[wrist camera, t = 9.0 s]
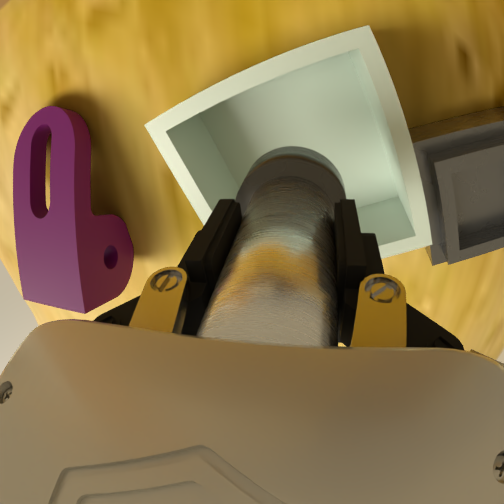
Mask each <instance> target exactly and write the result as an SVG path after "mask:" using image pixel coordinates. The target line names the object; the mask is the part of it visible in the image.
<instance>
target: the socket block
mask: <svg viewBox="0 0 504 504" xmlns="http://www.w3.org/2000/svg"><path fill="white" fill-rule="evenodd" d="M408 130H409V134H410V137H411V141H412V144H413V148H414V152H415V156H416V160H417V164H418V168H419V173H420V177H421V182H422V186H423V191H424V196H425V201H426V207H427V212H428V218H429V224H430V231H431V238H432V245H429V246H426V247H425V249H426V251H427V253H428V256H429V258H430V261H431V263H432V266H433V265H436V264H440V263H443V262H447V263H448V265H449V264H452V263H456V262H459V261H462V260H466V259H469V258H472V257H475V256H478V255H482V254H485V253H488V252H491V251H494V250H497V249H500V248H503V247H504V107H499V108H494V109H489V110H484V111H480V112H475V113H471V114H467V115H462V116H458V117H454V118H450V119H446V120H442V121H438V122H434V123H430V124H426V125H423V126H419V127H415V128H412V129H408Z"/></svg>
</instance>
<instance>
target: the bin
mask: <svg viewBox="0 0 504 504" xmlns="http://www.w3.org/2000/svg"><path fill="white" fill-rule="evenodd" d="M145 127H146V129H147V130H148V132H149V134H150V136H151V137H152V139H153V141H154V142H155V144H156V146H157V148H158V149H159V151H160V153H161V154H162V156H163V158H164V160H165V161H166V163H167V165H168V166H169V168H170V170H171V171H172V173H173V175H174V176H175V178H176V180H177V181H178V183H179V185H180V187H181V188H182V190H183V192H184V193H185V195H186V197H187V198H188V200H189V201H190V203H191V205H192V206H193V208H194V210H195V211H196V213H197V215H198V216H199V218H200V220H201V221H202V223H203V225H205V223H206V222H207V220H208V218H209V216H210V215H211V213H212V211H213V210H214V208H215V206H216V205H217V203H218V201H219V200H220V199H236V196H237V193H238V191H239V189H240V187H241V185H242V183H243V181H244V179H245V177H246V175H247V173H248V171H249V169H250V168H251V166H252V165H253V164H254V162H255V161H256V160H257V159H258V158H260V157H261V156H262V155H264V154H265V153H267V152H269V151H271V150H273V149H276V148H280V147H286V146H299V147H305V148H309V149H312V150H314V151H316V152H318V153H320V154H322V155H324V156H325V157H326V158H327V159H329V160H330V161H331V162H332V163H333V164H334V165H335V167H336V168H337V169H338V171H339V173H340V175H341V177H342V179H343V183H344V187H345V193H346V199H354V200H355V204H356V209H357V214H358V219H359V224H360V230H361V233H375V235H376V238H377V243H378V247H379V251H380V256H381V259H382V258H386V257H390V256H393V255H397V254H401V253H404V252H408V251H411V250H415V249H419V248H422V247H426V246H429V245H432V238H431V231H430V224H429V218H428V212H427V207H426V201H425V196H424V191H423V186H422V182H421V177H420V173H419V168H418V164H417V160H416V156H415V152H414V148H413V144H412V141H411V137H410V134H409V130H408V127H407V123H406V120H405V117H404V114H403V110H402V107H401V104H400V101H399V98H398V95H397V93H396V90H395V87H394V84H393V81H392V79H391V76H390V73H389V71H388V68H387V66H386V63H385V61H384V58H383V56H382V53H381V51H380V49H379V46H378V44H377V42H376V40H375V37H374V35H373V33H372V31H371V29H370V26H369V25H367V26H364V27H360V28H356V29H353V30H349V31H346V32H343V33H339V34H336V35H333V36H330V37H327V38H324V39H321V40H318V41H315V42H312V43H309V44H307V45H304V46H301V47H298V48H296V49H293V50H291V51H288V52H285V53H283V54H280V55H278V56H275V57H273V58H271V59H268V60H266V61H264V62H261V63H259V64H257V65H254V66H252V67H250V68H248V69H246V70H243V71H241V72H239V73H237V74H235V75H233V76H231V77H229V78H227V79H225V80H223V81H221V82H219V83H217V84H215V85H213V86H211V87H209V88H207V89H205V90H203V91H201V92H199V93H198V94H196V95H194V96H192V97H190V98H189V99H187V100H185V101H183V102H181V103H180V104H178V105H176V106H174V107H173V108H171V109H169V110H168V111H166V112H164V113H163V114H161V115H159V116H158V117H156V118H155V119H153V120H151V121H150V122H148V123H147V124H145Z"/></svg>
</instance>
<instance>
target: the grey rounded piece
mask: <svg viewBox="0 0 504 504" xmlns="http://www.w3.org/2000/svg"><path fill="white" fill-rule="evenodd" d="M340 199H346V193H345V187H344V183H343V179H342V177H341V175H340V173H339V171H338V169H337V168H336V167H335V165H334V164H333V163H332V162H331V161H330V160H329V159H327V158H326V157H325V156H324V155H322V154H320V153H318V152H316V151H314V150H312V149H309V148H305V147H299V146H286V147H280V148H276V149H273V150H271V151H269V152H267V153H265V154H264V155H262V156H261V157H260V158H258V159H257V160H256V161H255V162H254V164H253V165H252V166H251V168H250V169H249V171H248V173H247V175H246V177H245V179H244V181H243V183H242V185H241V187H240V189H239V191H238V193H237V196H236V199H235V201H236V202H239V203H240V206H241V213H242V221H241V224H240V226H239V229H238V231H237V233H236V236H235V238H234V241H233V243H232V246H231V248H230V251H229V253H228V256H227V258H226V261H225V263H224V266H223V268H222V271H221V273H220V275H219V278H218V281H217V283H216V286H215V288H214V291H213V293H212V296H211V298H210V301H209V303H208V306H207V308H206V311H205V313H204V316H203V318H202V321H201V324H200V326H199V329H198V331H197V334H196V336H202V337H211V338H220V339H230V340H240V341H252V342H264V343H278V344H294V345H313V346H338V296H337V278H336V251H335V231H334V207H335V203H340Z"/></svg>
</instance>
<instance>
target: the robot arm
mask: <svg viewBox="0 0 504 504" xmlns="http://www.w3.org/2000/svg"><path fill="white" fill-rule="evenodd" d="M241 221H242V213H241V206H240V203H239V202H236V201H235V199H220V200H219V201H218V203H217V205H216V206H215V208H214V210H213V211H212V213H211V215H210V216H209V218H208V220H207V222H206V223H205V225H204V227H203V228H202V230H200V231H198V232H197V234H196V235H195V237H194V239H193V241H192V242H191V244H190V246H189V247H188V249H187V251H186V253H185V254H184V256H183V258H182V260H181V261H180V263H179V265H178V267H166V268H163V269H160V270H158V271H156V272H154V273H153V274H152V275H151V276H150V277H149V278H148V280H147V282H146V284H145V286H144V289H143V291H142V294H141V295H140V296H138V297H136V298H134V299H132V300H130V301H128V302H126V303H124V304H122V305H120V306H118V307H116V308H114V309H111V310H109V311H107V312H105V313H103V314H101V315H100V316H98V317H97V318H96V319H95V320H94V321H89V320H77V319H67V320H57V321H52V322H48V323H45V324H42V325H40V326H38V327H36V328H35V329H34V330H33V331H32V332H31V333H30V334H29V335H28V336H27V337H26V338H25V340H24V341H23V342H22V343H21V345H20V346H19V348H18V349H17V350H16V352H15V353H14V355H13V356H12V358H11V359H10V361H9V362H8V364H7V366H6V367H5V369H4V371H3V372H2V374H1V375H0V504H504V364H503V363H501V362H498V361H496V360H494V359H492V358H490V357H488V356H485V355H483V354H481V353H479V352H476V351H474V350H472V349H471V350H470V352H469V351H465V350H464V348H463V345H462V344H461V342H460V340H459V339H457V338H456V337H455V336H454V335H453V334H451V333H450V332H448V331H447V330H445V329H444V328H443V327H441V326H440V325H438V324H437V323H435V322H434V321H432V320H431V319H429V318H428V317H427V316H425V315H424V314H422V313H421V312H419V311H418V310H416V309H415V308H413V307H412V306H410V305H409V304H407V303H406V291H405V287H404V286H403V284H402V283H401V282H400V281H399V280H398V279H396V278H395V277H392V276H390V275H386V274H384V269H383V265H382V260H381V256H380V251H379V247H378V243H377V238H376V235H375V233H361V230H360V224H359V219H358V214H357V209H356V204H355V200H354V199H340V203H335V207H334V231H335V251H336V278H337V296H338V342H341V343H343V344H344V345H345V346H347V347H338V346H313V345H294V344H278V343H264V342H252V341H240V340H230V339H220V338H211V337H202V336H196V334H197V331H198V329H199V326H200V324H201V321H202V318H203V316H204V313H205V311H206V308H207V306H208V303H209V301H210V298H211V296H212V293H213V291H214V288H215V286H216V283H217V281H218V278H219V275H220V273H221V271H222V268H223V266H224V263H225V261H226V258H227V256H228V253H229V251H230V248H231V246H232V243H233V241H234V238H235V236H236V233H237V231H238V229H239V226H240V224H241Z"/></svg>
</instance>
